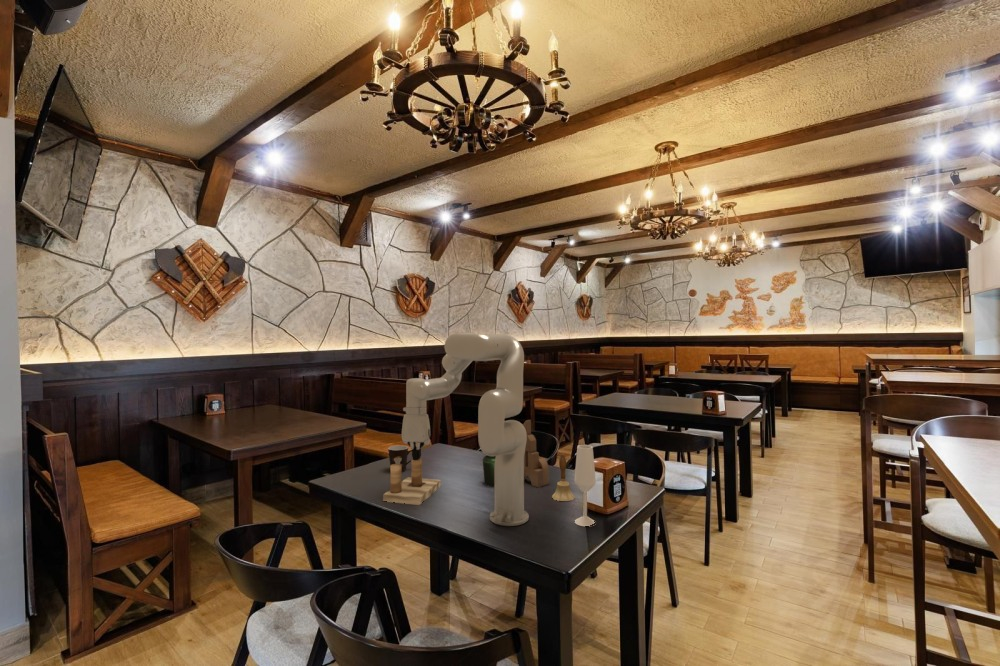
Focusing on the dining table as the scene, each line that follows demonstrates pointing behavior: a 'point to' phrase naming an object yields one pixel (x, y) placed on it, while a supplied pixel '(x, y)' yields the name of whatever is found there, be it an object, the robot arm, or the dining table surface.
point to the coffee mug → (399, 455)
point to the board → (408, 488)
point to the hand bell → (563, 484)
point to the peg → (416, 473)
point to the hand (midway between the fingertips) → (416, 459)
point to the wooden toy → (534, 461)
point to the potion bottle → (489, 470)
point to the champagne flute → (584, 478)
